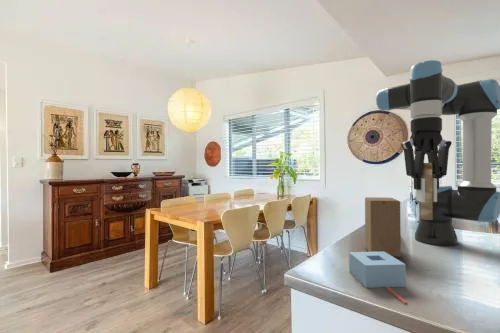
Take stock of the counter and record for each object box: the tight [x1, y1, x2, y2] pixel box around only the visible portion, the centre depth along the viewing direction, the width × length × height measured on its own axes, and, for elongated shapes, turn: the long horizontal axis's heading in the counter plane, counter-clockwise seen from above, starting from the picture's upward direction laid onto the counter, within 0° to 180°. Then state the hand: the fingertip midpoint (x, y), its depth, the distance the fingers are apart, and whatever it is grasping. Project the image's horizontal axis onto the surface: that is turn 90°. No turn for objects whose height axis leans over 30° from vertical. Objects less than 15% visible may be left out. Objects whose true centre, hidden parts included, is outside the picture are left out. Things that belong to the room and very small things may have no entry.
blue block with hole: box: [348, 251, 407, 289], centre depth 79 cm, size 11×11×6 cm
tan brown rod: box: [421, 162, 433, 220], centre depth 78 cm, size 3×3×16 cm
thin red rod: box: [385, 287, 408, 305], centre depth 69 cm, size 1×8×1 cm, turn 2°
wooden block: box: [364, 196, 402, 258], centre depth 103 cm, size 10×10×20 cm
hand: (426, 201), depth 78 cm, fingers closed on tan brown rod, 3 cm apart
